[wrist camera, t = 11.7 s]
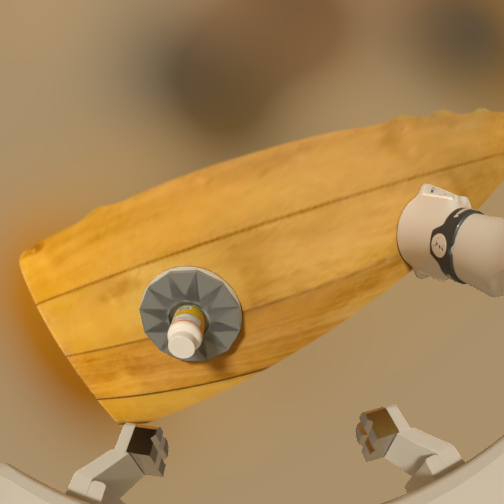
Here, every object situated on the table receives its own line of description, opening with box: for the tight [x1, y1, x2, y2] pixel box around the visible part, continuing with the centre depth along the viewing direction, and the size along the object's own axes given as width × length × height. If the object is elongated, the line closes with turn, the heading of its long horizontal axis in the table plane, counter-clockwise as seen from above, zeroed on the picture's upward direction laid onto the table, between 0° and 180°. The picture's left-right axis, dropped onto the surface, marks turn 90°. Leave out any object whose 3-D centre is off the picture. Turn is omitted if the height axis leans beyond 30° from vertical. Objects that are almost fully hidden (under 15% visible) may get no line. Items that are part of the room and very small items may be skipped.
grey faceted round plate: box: [140, 266, 242, 361], centre depth 45 cm, size 18×18×2 cm
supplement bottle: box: [167, 304, 206, 359], centre depth 41 cm, size 5×5×10 cm
